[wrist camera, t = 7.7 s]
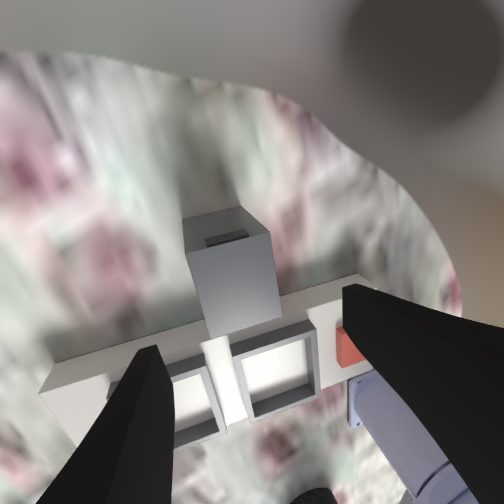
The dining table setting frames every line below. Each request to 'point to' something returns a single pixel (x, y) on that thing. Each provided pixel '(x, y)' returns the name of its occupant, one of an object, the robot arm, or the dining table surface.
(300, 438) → the dining table surface
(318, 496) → the travel mug
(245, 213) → the block
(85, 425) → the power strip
